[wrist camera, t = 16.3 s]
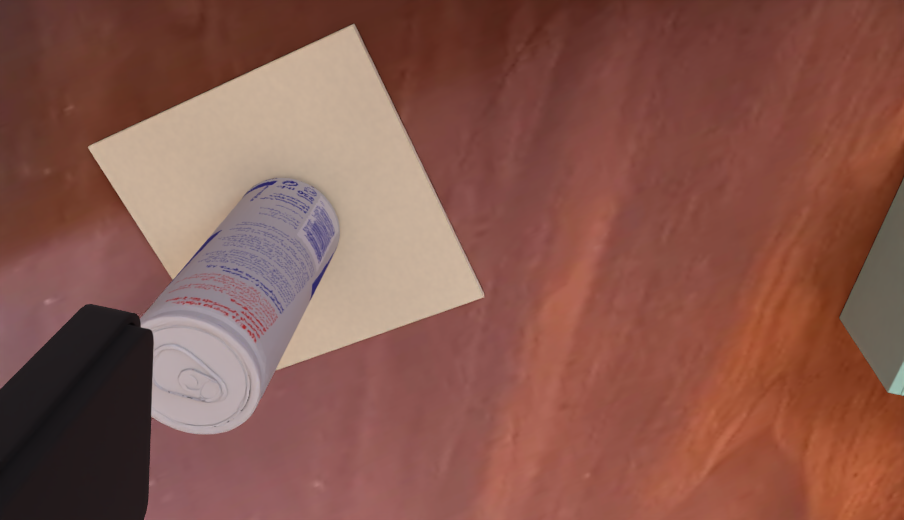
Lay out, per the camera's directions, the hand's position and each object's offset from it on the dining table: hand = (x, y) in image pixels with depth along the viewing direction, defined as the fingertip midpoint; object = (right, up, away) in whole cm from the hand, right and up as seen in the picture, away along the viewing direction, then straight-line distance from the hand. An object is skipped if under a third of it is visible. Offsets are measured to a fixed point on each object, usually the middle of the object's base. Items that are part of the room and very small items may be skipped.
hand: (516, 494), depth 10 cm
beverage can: (-9, +5, +35) cm, 37 cm away
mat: (-9, +5, +36) cm, 37 cm away
